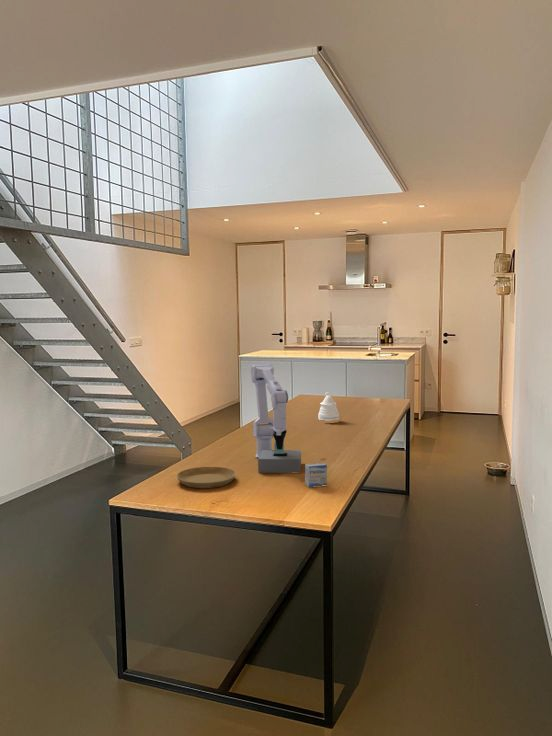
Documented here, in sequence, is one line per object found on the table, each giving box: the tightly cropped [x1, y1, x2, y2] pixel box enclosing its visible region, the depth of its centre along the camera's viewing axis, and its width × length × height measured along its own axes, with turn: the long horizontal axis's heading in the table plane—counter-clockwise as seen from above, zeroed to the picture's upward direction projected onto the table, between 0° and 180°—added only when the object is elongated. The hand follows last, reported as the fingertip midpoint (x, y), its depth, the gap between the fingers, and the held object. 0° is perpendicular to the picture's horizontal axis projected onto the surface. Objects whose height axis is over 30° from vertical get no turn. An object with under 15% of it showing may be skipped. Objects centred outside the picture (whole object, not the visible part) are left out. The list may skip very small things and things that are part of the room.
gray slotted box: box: [257, 449, 302, 474], centre depth 255 cm, size 16×18×6 cm
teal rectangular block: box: [273, 440, 285, 454], centre depth 254 cm, size 4×4×5 cm
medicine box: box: [304, 462, 328, 488], centre depth 229 cm, size 8×4×9 cm, turn 105°
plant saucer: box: [176, 466, 237, 489], centre depth 237 cm, size 24×24×3 cm
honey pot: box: [317, 392, 340, 421], centre depth 356 cm, size 13×13×18 cm
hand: (280, 448), depth 254 cm, fingers closed on teal rectangular block, 4 cm apart
